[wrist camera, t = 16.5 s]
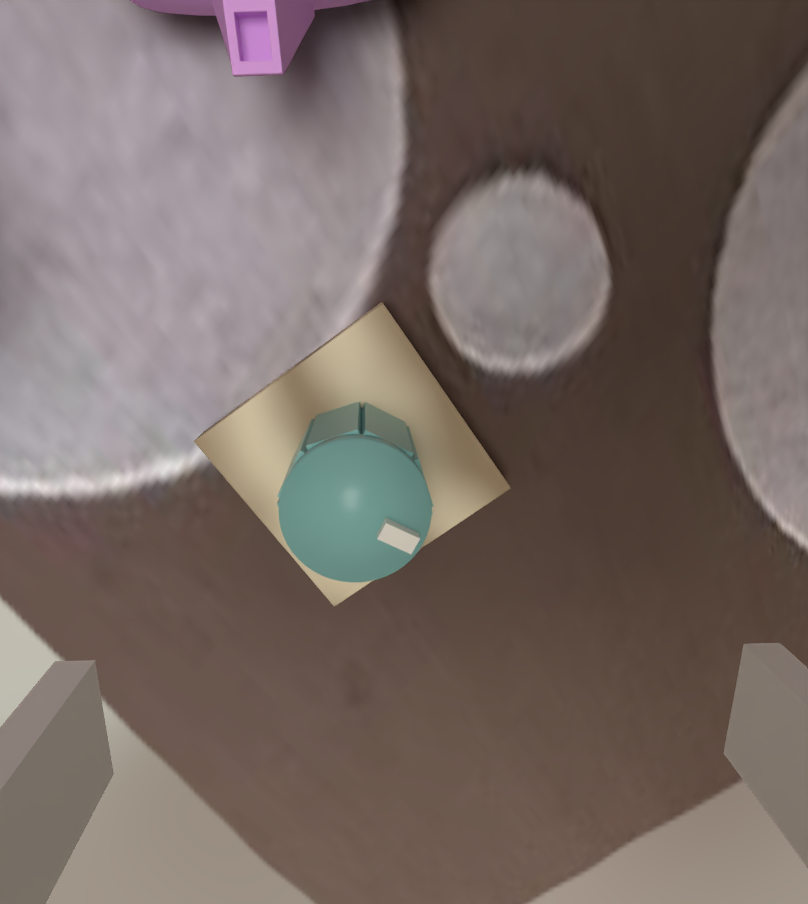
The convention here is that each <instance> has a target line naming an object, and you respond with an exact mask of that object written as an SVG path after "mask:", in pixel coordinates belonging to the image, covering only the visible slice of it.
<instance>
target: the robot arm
mask: <svg viewBox="0 0 808 904" xmlns="http://www.w3.org/2000/svg"><path fill="white" fill-rule="evenodd" d="M724 754H725V756H726V757H727V758H728V760H729V761H730V762H731V764H732V765H733V767H734V768H735V769H736V771H737V772H738V773H739V775H740V776H741V778H742V779H743V780H744V782H745V783H746V784H747V786H748V787H749V788H750V790H751V791H752V793H753V794H754V795H755V797H756V798H757V799H758V801H759V802H760V804H761V805H762V806H763V808H764V809H765V810H766V812H767V813H768V814H769V816H770V817H771V819H772V820H773V821H774V823H775V824H776V825H777V827H778V828H779V829H780V831H781V832H782V834H783V835H784V836H785V838H786V839H787V840H788V842H789V843H790V845H791V846H792V847H793V849H794V850H795V851H796V853H797V854H798V855H799V857H800V858H801V859H802V861H803V862H804V864H805V865H806V867H807V868H808V668H807V667H806V666H805V665H804V664H803V663H801V662H800V661H799V660H798V659H797V658H796V657H795V656H794V655H793V654H792V653H790V652H789V651H788V650H787V649H786V648H785V647H784V646H783V645H782V644H781V643H756V644H744V646H743V651H742V657H741V662H740V668H739V673H738V678H737V684H736V689H735V695H734V700H733V705H732V711H731V716H730V722H729V727H728V732H727V738H726V743H725V749H724ZM112 776H113V768H112V762H111V755H110V750H109V743H108V738H107V731H106V726H105V719H104V713H103V707H102V700H101V694H100V688H99V682H98V676H97V670H96V664H95V660H92V661H55V662H54V663H53V665H52V666H51V667H50V668H49V669H48V671H47V672H46V673H45V674H44V675H43V677H42V678H41V679H40V681H38V683H37V684H36V685H35V686H34V687H33V689H32V690H31V691H30V692H29V694H28V695H27V696H26V697H25V698H24V700H23V701H22V702H21V703H20V704H19V706H18V707H17V708H16V709H15V710H14V712H13V713H12V714H11V715H10V717H9V718H8V719H7V720H6V721H5V723H4V724H3V725H2V726H1V727H0V904H46V902H47V900H48V898H49V896H50V894H51V892H52V890H53V888H54V886H55V884H56V883H57V881H58V879H59V877H60V875H61V873H62V871H63V869H64V867H65V865H66V864H67V862H68V859H69V858H70V856H71V854H72V852H73V850H74V848H75V846H76V844H77V842H78V841H79V839H80V837H81V835H82V833H83V831H84V829H85V827H86V825H87V823H88V822H89V820H90V818H91V816H92V813H93V812H94V810H95V808H96V806H97V804H98V802H99V801H100V799H101V797H102V795H103V793H104V791H105V789H106V787H107V785H108V783H109V781H110V780H111V778H112Z"/></svg>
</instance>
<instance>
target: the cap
mask: <svg viewBox="0 0 808 904" xmlns="http://www.w3.org/2000/svg"><path fill="white" fill-rule="evenodd" d="M277 497H279V500H278V502H277V505H278V508H279V522H280V528H281V531H282V534H283V537H284V539H285V541H286V543H287V545H288V546H289V548H290V549H291V551H292V552H293V554H294V555H295V556H296V557H297V558H298V559H299V560H300V561H301V562H302V563H303V564H304V565H305V566H307V567H308V568H310V569H311V570H312V571H314V572H316V573H318V574H320V575H322V576H324V577H327V578H330V579H333V580H337V581H342V582H367V581H372V580H376V579H380V578H383V577H385V576H388V575H390V574H392V573H394V572H396V571H397V570H399V569H400V568H402V567H403V566H405V565H406V564H407V563H408V562H409V561H410V560H411V559H412V558H413V557H414V556H415V555H416V553H417V552H418V551H419V549H420V548H421V546H422V545H423V543H424V541H425V539H426V537H427V534H428V531H429V528H430V523H431V516H432V514H433V512H432V508H431V507H434V506H433V503H432V499H431V496H430V493H429V490H428V486H427V483H426V480H425V477H424V473H423V470H422V467H421V464H420V461H419V457H418V454H417V451H416V448H415V445H414V442H413V439H412V435H411V432H410V429H409V426H407V427H406V425H405V422H404V421H402V420H400V419H398V418H396V417H394V416H392V415H390V414H388V413H386V412H384V411H382V410H380V409H378V408H376V407H374V406H372V405H370V404H368V403H366V402H365V403H364V405H363V407H362V409H361V406H360V403H359V402H356V403H352V404H349V405H346V406H343V407H340V408H337V409H334V410H331V411H327V412H324V413H321V414H318V415H316V418H315V420H313V419H312V420H311V422H310V424H309V426H308V428H307V430H306V432H305V434H304V436H303V438H302V440H301V442H300V444H299V446H298V448H297V450H296V452H295V454H294V456H293V458H292V461H291V463H290V466H289V468H288V471H287V473H286V476H285V478H284V481H283V483H282V486H281V488H280V491H279V493H278V496H277Z"/></svg>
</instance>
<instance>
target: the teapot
mask: <svg viewBox="0 0 808 904" xmlns="http://www.w3.org/2000/svg"><path fill="white" fill-rule="evenodd" d="M130 1H132V2H133V3H135V4H136V5H138V6H140V7H143V8H146V9H150V10H153V11H157V12H161V13H172V14H185V15H198V16H216V17H217V20H218V23H219V27H220V30H221V33H222V36H223V39H224V42H225V45H226V49H227V52H228V55H229V58H230V61H231V66H232V73H233V76H235V77H237V76H264V75H284V73H285V71H286V70H287V68H288V66H289V64H290V62H291V60H292V58H293V56H294V55H295V53H296V51H297V49H298V47H299V45H300V43H301V41H302V40H303V38H304V36H305V34H306V32H307V30H308V28H309V27H310V25H311V23H312V21H313V19H314V17H315V12H314V10H319V9H326V8H334V7H341V6H347V5H352V4H356V3H361V2H366V1H370V0H130Z"/></svg>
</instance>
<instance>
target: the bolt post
mask: <svg viewBox="0 0 808 904" xmlns="http://www.w3.org/2000/svg"><path fill="white" fill-rule="evenodd" d="M356 402H359V403H360V406H361V409H362V407H363V405H364V403H365V402H366V403H368V404H370V405H372V406H374V407H376V408H378V409H380V410H382V411H384V412H386V413H388V414H390V415H392V416H394V417H396V418H398V419H400V420H402V421H404V422H405V425H406V427H407V426H409V429H410V432H411V435H412V439H413V442H414V445H415V448H416V451H417V454H418V457H419V461H420V464H421V467H422V470H423V473H424V477H425V480H426V483H427V486H428V490H429V493H430V496H431V499H432V503H433V506H434V507H431V508H432V512H433V514H432V516H431V523H430V528H429V531H428V534H427V537H426V539H425V541H424V543H423V545H422V546H421V548H422V547H424V546H425V545H427V544H428V543H430V542H431V541H433V540H434V539H436V538H437V537H439V536H440V535H442V534H443V533H445V532H446V531H448V530H449V529H451V528H452V527H454V526H455V525H457V524H458V523H460V522H461V521H463V520H464V519H466V518H467V517H469V516H470V515H472V514H473V513H475V512H476V511H478V510H479V509H481V508H482V507H484V506H485V505H487V504H488V503H490V502H491V501H493V500H494V499H495V498H497V497H498V496H500V495H501V494H503V493H504V492H506V491H507V490H509V489H510V488H511V487H510V486H509V484H508V483H507V482H506V480H505V479H504V477H503V476H502V474H501V473H500V471H499V470H498V469H497V467H496V466H495V464H494V463H493V461H492V460H491V458H490V457H489V456H488V454H487V453H486V451H485V450H484V448H483V447H482V445H481V444H480V443H479V441H478V440H477V438H476V437H475V435H474V434H473V432H472V431H471V430H470V428H469V427H468V425H467V424H466V422H465V421H464V419H463V418H462V417H461V415H460V414H459V412H458V411H457V409H456V408H455V406H454V405H453V404H452V402H451V401H450V399H449V398H448V396H447V395H446V393H445V392H444V391H443V389H442V388H441V386H440V385H439V383H438V382H437V380H436V379H435V378H434V376H433V375H432V373H431V372H430V370H429V369H428V367H427V366H426V365H425V363H424V362H423V360H422V359H421V357H420V356H419V354H418V353H417V352H416V350H415V349H414V347H413V346H412V344H411V343H410V341H409V340H408V339H407V337H406V336H405V334H404V333H403V331H402V330H401V328H400V327H399V326H398V324H397V323H396V321H395V320H394V318H393V317H392V315H391V314H390V313H389V311H388V310H387V308H386V307H385V305H384V304H383V303H382V302H381V303H380V304H378V305H377V306H376V307H374V308H373V309H371V310H370V311H369V312H367V313H366V314H365V315H363V316H362V317H360V318H359V319H358V320H356V321H355V322H354V323H352V324H351V325H350V326H348V327H347V328H345V329H344V330H343V331H341V332H340V333H339V334H337V335H336V336H334V337H333V338H332V339H330V340H329V341H328V342H326V343H325V344H323V345H322V346H321V347H319V348H318V349H317V350H315V351H314V352H313V353H311V354H310V355H308V356H307V357H306V358H304V359H303V360H302V361H300V362H299V363H297V364H296V365H295V366H293V367H292V368H291V369H289V370H288V371H286V372H285V373H284V374H282V375H281V376H280V377H278V378H277V379H276V380H274V381H273V382H271V383H270V384H269V385H267V386H266V387H265V388H263V389H262V390H260V391H259V392H258V393H256V394H255V395H254V396H252V397H251V398H250V399H248V400H247V401H245V402H244V403H243V404H241V405H240V406H239V407H237V408H236V409H234V410H233V411H232V412H230V413H229V414H228V415H226V416H225V417H223V418H222V419H221V420H219V421H218V422H217V423H215V424H214V425H213V426H211V427H210V428H208V429H207V430H206V431H204V432H203V433H202V434H201V435H200V436H199V437H198V438H197V439H196V440H195V441H194V442H195V443H196V444H197V446H198V447H199V448H200V449H201V450H202V451H203V453H204V454H205V455H206V456H207V457H208V459H209V460H210V461H211V462H212V463H213V464H214V466H215V467H216V468H217V469H218V470H219V471H220V473H221V474H222V475H223V476H224V477H225V479H226V480H227V481H228V482H229V483H230V484H231V486H232V487H233V488H234V489H235V490H236V491H237V493H238V494H239V495H240V496H241V497H242V499H243V500H244V501H245V502H246V503H247V504H248V506H249V507H250V508H251V509H252V510H253V511H254V513H255V514H256V515H257V516H258V517H259V519H260V520H261V521H262V522H263V523H264V524H265V526H266V527H267V528H268V529H269V530H270V531H271V533H272V534H273V535H274V536H275V537H276V539H277V540H278V541H279V542H280V543H281V544H282V546H283V547H284V548H285V549H286V550H287V551H288V553H289V554H290V555H291V556H292V557H293V559H294V560H295V561H296V562H297V563H298V564H299V566H300V567H301V568H302V569H303V570H304V571H305V573H306V574H307V575H308V576H309V577H310V579H311V580H312V581H313V582H314V583H315V584H316V586H317V587H318V588H319V589H320V590H321V591H322V593H323V594H324V595H325V596H326V597H327V599H328V600H329V601H330V602H331V603H332V604H333V606H336V605H337V604H339V603H340V602H342V601H343V600H345V599H346V598H348V597H349V596H351V595H352V594H354V593H355V592H357V591H358V590H360V589H361V588H363V587H364V586H366V585H367V584H369V583H370V582H372V581H373V580H372V581H367V582H342V581H337V580H333V579H330V578H327V577H324V576H322V575H320V574H318V573H316V572H314V571H312V570H311V569H310V568H308V567H307V566H305V565H304V564H303V563H302V562H301V561H300V560H299V559H298V558H297V557H296V556H295V555H294V554H293V552H292V551H291V549H290V548H289V546H288V545H287V543H286V541H285V539H284V537H283V534H282V531H281V528H280V522H279V508H278V505H277V502H278V500H279V497H277V496H278V493H279V491H280V488H281V486H282V483H283V481H284V478H285V476H286V473H287V471H288V468H289V466H290V463H291V461H292V458H293V456H294V454H295V452H296V450H297V448H298V446H299V444H300V442H301V440H302V438H303V436H304V434H305V432H306V430H307V428H308V426H309V424H310V422H311V420H312V419H313V420H315V418H316V415H318V414H321V413H324V412H327V411H331V410H334V409H337V408H340V407H343V406H346V405H349V404H352V403H356ZM421 548H420V549H421Z"/></svg>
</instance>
